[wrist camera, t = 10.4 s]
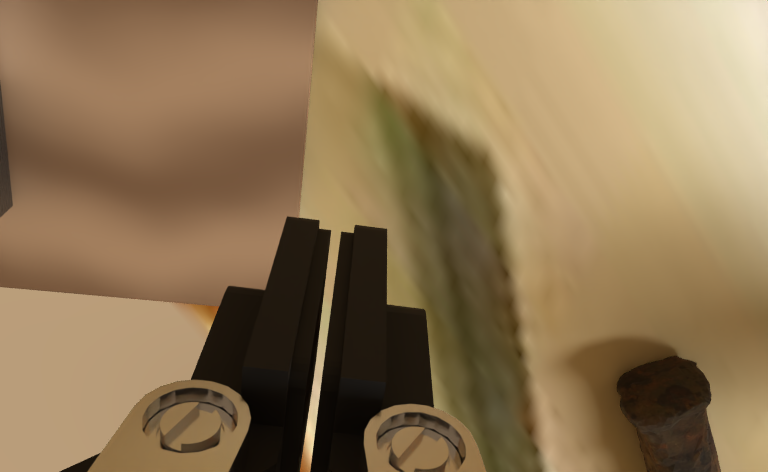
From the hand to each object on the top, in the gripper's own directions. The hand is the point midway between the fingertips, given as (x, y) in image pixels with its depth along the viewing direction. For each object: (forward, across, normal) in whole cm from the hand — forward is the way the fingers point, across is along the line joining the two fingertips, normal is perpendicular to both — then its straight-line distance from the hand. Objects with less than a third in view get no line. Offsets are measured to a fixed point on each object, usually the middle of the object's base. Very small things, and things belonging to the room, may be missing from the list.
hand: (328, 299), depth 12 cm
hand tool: (+18, -20, +20) cm, 34 cm away
